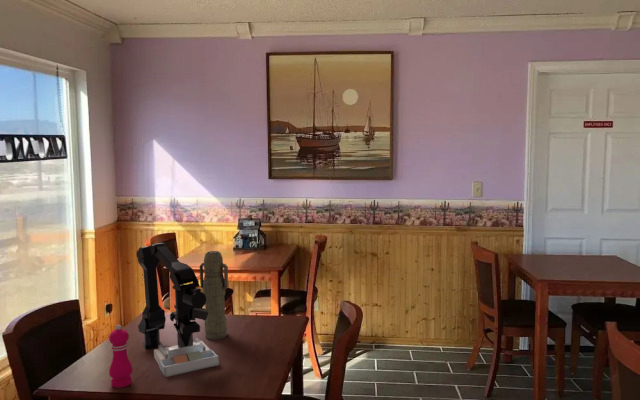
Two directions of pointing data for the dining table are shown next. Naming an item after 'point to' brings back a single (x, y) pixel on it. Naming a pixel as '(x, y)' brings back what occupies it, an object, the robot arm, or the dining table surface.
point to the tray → (189, 364)
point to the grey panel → (185, 347)
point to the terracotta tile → (180, 359)
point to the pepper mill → (120, 359)
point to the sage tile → (194, 356)
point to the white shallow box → (163, 352)
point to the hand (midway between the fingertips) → (185, 344)
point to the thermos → (214, 294)
